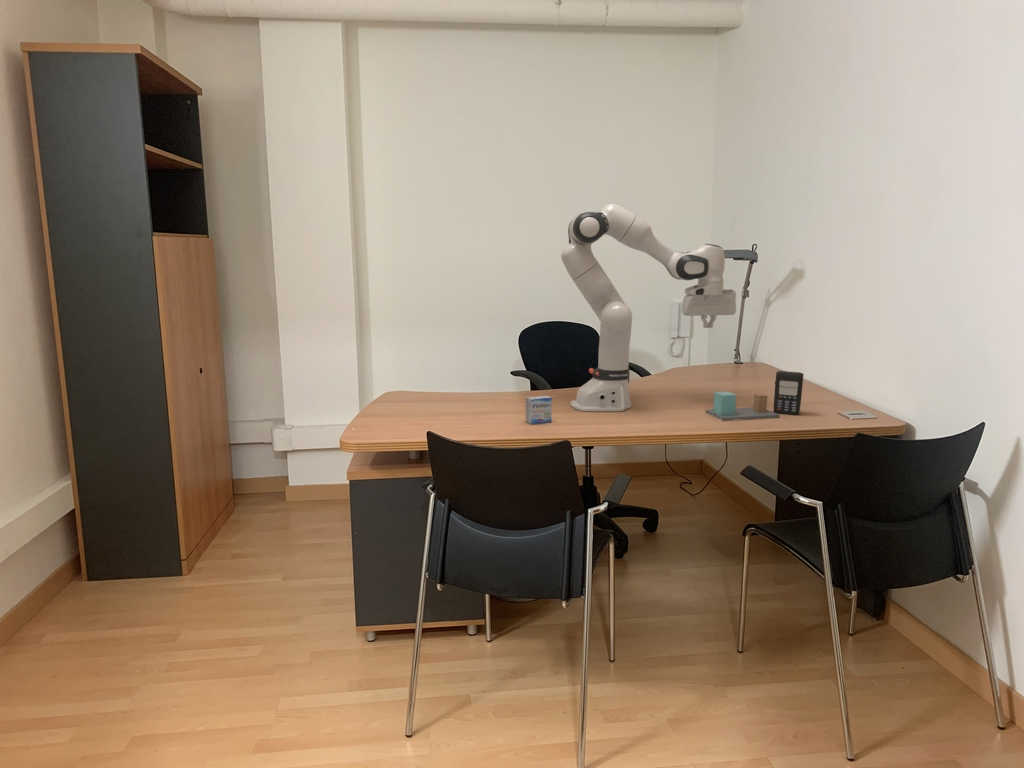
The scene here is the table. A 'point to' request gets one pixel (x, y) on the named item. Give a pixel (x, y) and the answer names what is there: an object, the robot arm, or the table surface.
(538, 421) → the medicine box
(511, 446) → the table surface
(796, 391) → the card reader
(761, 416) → the post board
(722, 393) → the teal block
